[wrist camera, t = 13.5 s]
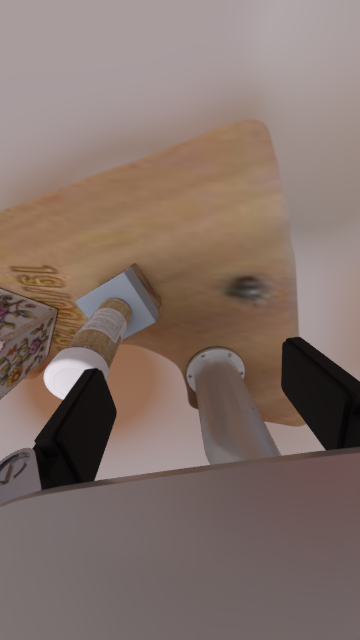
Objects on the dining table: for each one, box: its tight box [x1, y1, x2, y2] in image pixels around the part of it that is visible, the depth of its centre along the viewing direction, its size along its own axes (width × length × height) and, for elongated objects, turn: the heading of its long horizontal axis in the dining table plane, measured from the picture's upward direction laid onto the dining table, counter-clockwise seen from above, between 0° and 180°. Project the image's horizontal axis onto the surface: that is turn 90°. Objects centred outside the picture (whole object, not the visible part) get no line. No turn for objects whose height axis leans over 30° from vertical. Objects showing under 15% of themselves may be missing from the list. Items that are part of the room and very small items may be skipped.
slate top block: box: [75, 268, 158, 340], centre depth 30 cm, size 8×8×5 cm
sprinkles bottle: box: [44, 298, 132, 400], centre depth 21 cm, size 5×5×13 cm
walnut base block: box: [112, 263, 161, 309], centre depth 35 cm, size 8×8×5 cm
